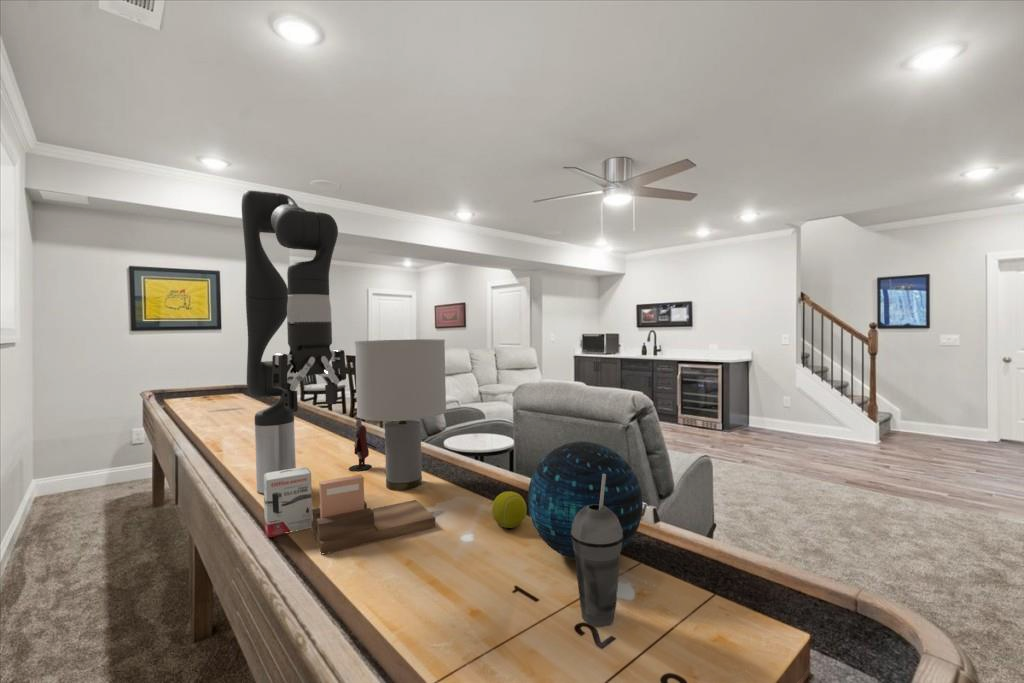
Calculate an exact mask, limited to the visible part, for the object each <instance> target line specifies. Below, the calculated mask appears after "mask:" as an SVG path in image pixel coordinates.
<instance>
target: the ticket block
mask: <svg viewBox="0 0 1024 683" xmlns="http://www.w3.org/2000/svg"><path fill="white" fill-rule="evenodd" d="M367 507H368V504H367V502H366V501H365V500H364V509H363V510H358V511H353V512H348V513H343V514H338V515H333V516H328V517H324V518H320V507H317V508H312V528H311V532H312V534H313V538H314V537H315V538H314V540H315V542H317V543H316V545H317V544H318V545H317V547H319V548H318V549H320V550H319V552H321V553H320V555H321V554H322V553H326V554H329V553H328V552H330V553H334V552H337V551H341V550H346V549H350V548H354V547H359V546H362V545H367V544H370V543H375V542H379V540H380V541H384V540H388V539H391V537H392V538H395V537H396V538H397V537H400V536H405V535H408V534H412V533H416V532H419V531H421V532H422V531H424V530H428V529H433V528H436V516H434V514H432V513H431V512H430V511H429V510H428V509H427V508H425V506H424V505H422V504H421V503H420V502H419V501H418V500H417V499H414V500H412V499H411V500H409V501H403V502H399V503H398V502H397V503H393V504H390V505H389V504H388V505H384V506H379V507H375V508H371V507H369V508H367ZM387 538H388V539H387ZM383 539H384V540H383ZM322 555H323V554H322Z"/></svg>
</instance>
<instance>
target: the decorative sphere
mask: <svg viewBox="0 0 1024 683" xmlns="http://www.w3.org/2000/svg"><path fill="white" fill-rule="evenodd" d="M602 474H606V480H605V490H604V500H603V506H605V507H607V508H609V509H610V510H611V511H612V512H613V513H614V514H615V515H616V516H617V518H618V520H619V522H620V525H621V528H622V534H623V537H624V538H623V541H622V548H621V551H622V550H623V549H625V547H627V545H628V544H629V543H630V542H631V541H632V539H633V538H634V536H635V535H636V532H637V531H638V529H639V526H640V522H641V520H642V516H643V508H644V507H643V506H644V505H643V497H642V495H643V494H642V489H641V485H640V482H639V480H638V477H637V475H636V473H635V472H634V470H633V468H632V467H631V466H630V464H629V463H628V462H627V461H626V459H625V458H623V457H622V456H621V455H619V454H618V453H617V452H616V451H614V450H613V449H611V448H609V447H607V446H605V445H602V444H599V443H595V442H591V441H574V442H569V443H565V444H563V445H561V446H559V447H556V448H555V449H553V450H551V451H550V452H549V453H548V454H547V455H545V456H544V457H543V458H542V459H541V461H540V462H539V463H538V465H537V466H536V468H535V469H534V472H533V474H532V476H531V477H530V481H529V485H528V492H527V494H528V495H527V505H528V507H527V508H528V513H529V516H530V519H531V522H532V525H533V527H534V529H535V530H536V531H537V533H538V536H539V537H540V538H541V539H542V541H543V542H544V543H545V544H546V545H547V546H548V547H549V548H550V549H552V550H553V551H555V552H556V553H558V554H559V555H561V556H563V557H565V558H567V559H570V560H574V561H576V558H575V551H574V548H573V543H572V538H571V534H570V533H571V530H572V523H573V520H574V518H575V516H576V515H577V513H578V512H579V511H580V510H581V509H582V508H584V507H586V506H588V505H592V504H599V503H600V494H601V484H602Z"/></svg>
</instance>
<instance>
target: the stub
mask: <svg viewBox="0 0 1024 683" xmlns="http://www.w3.org/2000/svg"><path fill="white" fill-rule="evenodd" d="M318 487H319V508H320V518H324V517H328V516H333V515H338V514H343V513H348V512H353V511H358V510H363V509H364V501H365V481H364V475H362V474H358V475H357V474H356V475H351V476H346V477H339V478H332V479H327V480H321V481H319V486H318Z"/></svg>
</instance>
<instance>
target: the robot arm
mask: <svg viewBox="0 0 1024 683" xmlns="http://www.w3.org/2000/svg"><path fill="white" fill-rule="evenodd" d="M241 218H242V219H241V220H242V230H243V239H244V240H243V241H244V256H245V312H246V313H245V314H246V326H247V328H246V329H247V357H246V358H247V359H246V389H247V393H248V394H249V396H250V397H252V398H258V399H259V398H260V399H261V398H270V397H272V398H273V397H280V398H279V399H278V401H277V402H275V403H274V404H273V405H271V406H269V407H267V408H264V409H261V410H259V411H258V412H256V413H255V415H254V437H255V439H254V442H255V443H254V444H255V470H256V471H255V472H256V492H257V493H260V494H264V474H266V473H270V472H275V471H282V470H288V469H294V468H297V467H296V433H295V412H298V391H297V390H296V389H297V388H298V386H299V385H300V382H302V381H303V380H304V378H305V377H309V376H314V375H316V376H317V375H318V376H319V377H321V378H322V380H323V381H324V382H325V385H324V388H325V389H324V391H325V393H324V394H325V404H326V405H336V404H337V401H338V399H339V398H338V397H339V396H338V392H339V391H338V390H339V389H338V386H339V385H338V384H340V382H342V381H345V380H346V379H347V369H346V356H345V350H344V349H332V350H331V345H332V344H333V329H332V328H333V326H332V322H333V321H332V306H331V299H330V271H331V270H330V268H331V262H332V258H333V254H334V250H335V246H336V243H337V240H338V234H339V227H338V223H337V222H336V220H335V218H333V216H332V215H330V214H329V213H325V212H319V211H313V210H312V211H310V210H306V209H305V208H302V207H300V206H298V204H297V203H296V201H295V200H294V199H293V198H292V197H291V196H289V195H287V194H283V193H281V192H280V193H277V192H270V191H261V190H245V191H244V193H243V194H242V199H241ZM261 233H265V234H267V233H268V234H275V237H276V240H277V242H278V243H279V245H280V246H281V247H284V248H287V249H291V250H304V251H306V250H307V251H315V254H314V257H313V259H311V260H308V261H307V260H306V261H299V262H293V263H291V264H290V265H288V268H287V275H286V276H287V283H286V282H285V279H284V278H283V277H282V275H281V274H280V272H279V271H278V270H277V268H276V267H275V265H274V264H273V263H272V261H271V260H270V259H269V256H268V255H267V253H266V251H265V249H264V246H263V244H262V241H261V237H260V236H261ZM285 320H286V323H287V328H286V329H287V345H288V346H289V353H288V354H287V353H274V354H273V355H272V357H271V358H272V360H271V361H270V360H268V361H266V360H265V361H262V359H263V356H264V353H265V350H266V349H267V346H268V344H269V343H270V341H271V340H272V338H273V337H274V336H275V334H276V333H277V332H278V330H279V329H280V328H281V327H282V325H283V323H284V322H285ZM330 361H331V363H330Z"/></svg>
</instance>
